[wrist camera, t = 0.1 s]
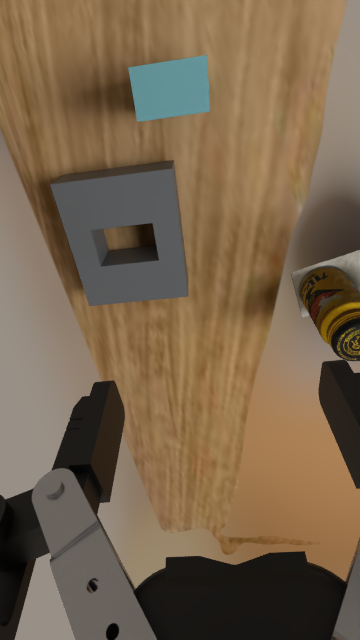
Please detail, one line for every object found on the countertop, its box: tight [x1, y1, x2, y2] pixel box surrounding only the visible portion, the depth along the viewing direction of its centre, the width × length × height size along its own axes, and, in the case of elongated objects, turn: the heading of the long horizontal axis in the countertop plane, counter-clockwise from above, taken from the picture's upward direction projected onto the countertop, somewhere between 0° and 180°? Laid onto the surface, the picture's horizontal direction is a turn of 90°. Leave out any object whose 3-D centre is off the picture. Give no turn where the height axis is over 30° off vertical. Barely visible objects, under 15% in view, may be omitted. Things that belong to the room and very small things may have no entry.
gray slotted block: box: [50, 161, 188, 306], centre depth 38 cm, size 14×12×4 cm
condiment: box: [291, 250, 360, 361], centre depth 38 cm, size 7×8×12 cm
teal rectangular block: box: [128, 55, 210, 122], centre depth 27 cm, size 3×5×12 cm, turn 97°
